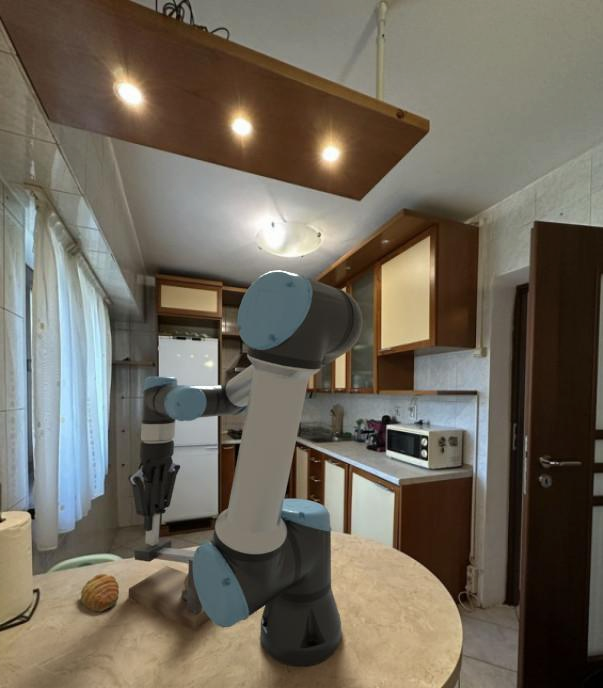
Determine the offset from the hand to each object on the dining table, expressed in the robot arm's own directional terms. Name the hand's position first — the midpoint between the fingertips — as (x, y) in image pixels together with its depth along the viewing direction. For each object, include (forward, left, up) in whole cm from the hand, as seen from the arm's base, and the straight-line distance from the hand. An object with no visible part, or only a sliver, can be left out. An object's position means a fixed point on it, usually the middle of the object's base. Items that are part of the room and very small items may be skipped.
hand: (151, 542), depth 77 cm
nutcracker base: (-10, 0, -9) cm, 14 cm away
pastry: (+6, +8, -10) cm, 14 cm away
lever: (-9, 0, -2) cm, 9 cm away
